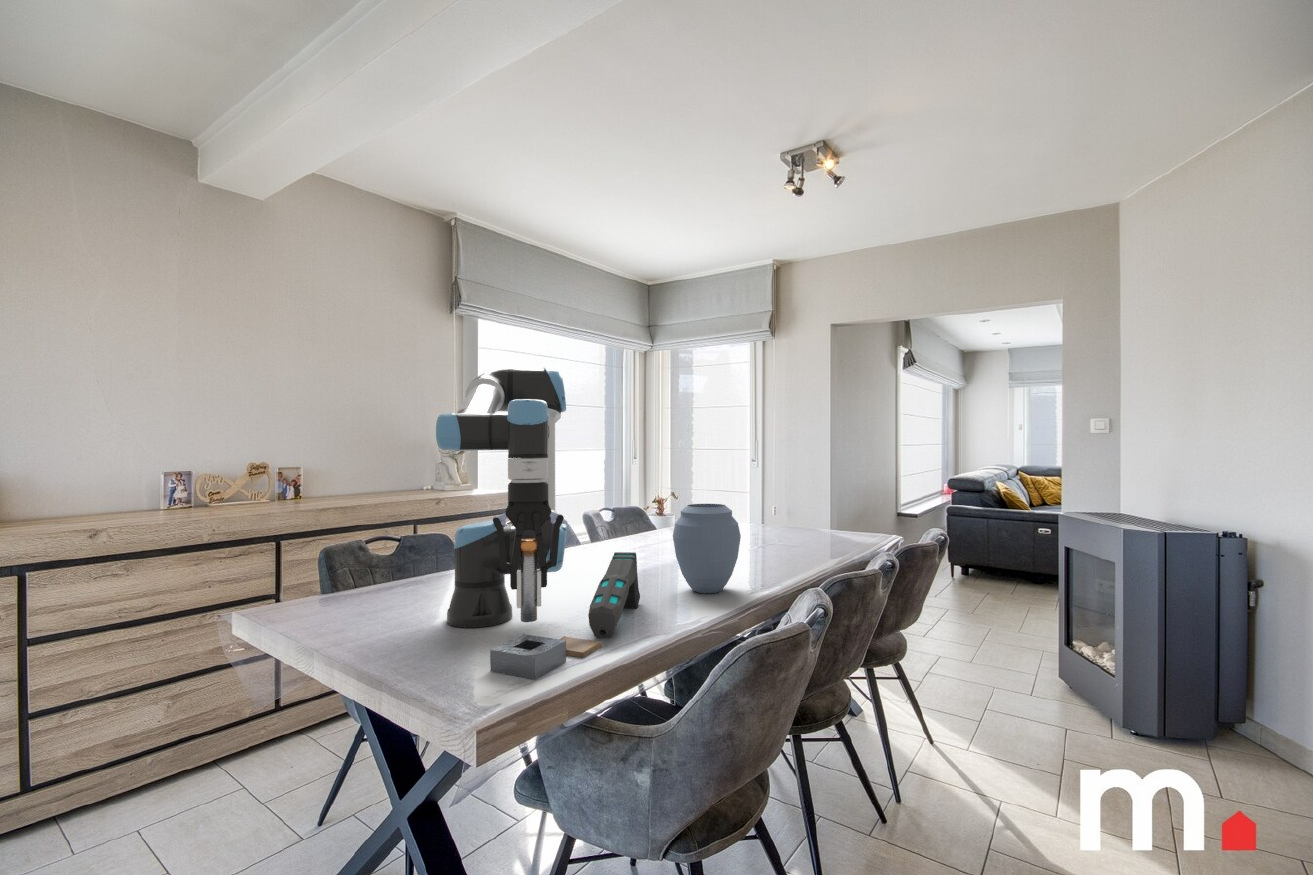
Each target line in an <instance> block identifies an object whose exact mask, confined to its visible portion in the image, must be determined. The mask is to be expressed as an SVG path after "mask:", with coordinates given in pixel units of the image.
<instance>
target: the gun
mask: <svg viewBox="0 0 1313 875" xmlns="http://www.w3.org/2000/svg"><path fill="white" fill-rule="evenodd" d="M637 558H638V557H637V553H636V552H633V551H632V552H629V551H628V552H624V551H622V552H621V551H620V552H619V551H617V552H614V553H613V555H612V557H611V559H610V562H609V565H608V566H607V570H606V571H605V574H604V575H603V577H602V578H601V580H600V581H599V583H598V585H597V588H596V591H595V593H594V595H593V597H592V600H591V602H590V605H589V609H588V625H589V628H590V630H591V632H592V635H593V636H594V637H596V638H597V639H598V638H600V639H601V638H603V639H611V638H613V636H614V633H615V630H616V628H617V625H618V623H619V621H620V618H621V616H622V613H623V610H624V609H638V606H639V603H640V599H641V593H640V589H639V588H640V587H639V579H638V578H639V576H638V560H637Z"/></svg>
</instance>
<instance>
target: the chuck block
mask: <svg viewBox="0 0 1313 875" xmlns="http://www.w3.org/2000/svg"><path fill="white" fill-rule="evenodd" d="M489 651H490V652H489V654H490V661H489V662H490V666H489V668H490V669H489V670H490V672H491V673H496V674H501V675H502V674H503V675H507V676H513V677H517V678H523V679H528V680H534V681H536V680H538V679H539V678H541V677H543V676H544V675H546V674H547V673H549V672H550V671H553V670H554V669H555V668H557V667H559V666H561V665H562V664H564V663H566V662H567V655H566V640H560V638H559V639H558V638H552V637H545V636H537V635H532V634H525V633H523V634H521V635H519V636H517V637H515V638H512V639H510V640H508V641H507V642H504V643H501V644H500V645H497V646H495V647H493V648H491V649H490V650H489Z"/></svg>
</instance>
